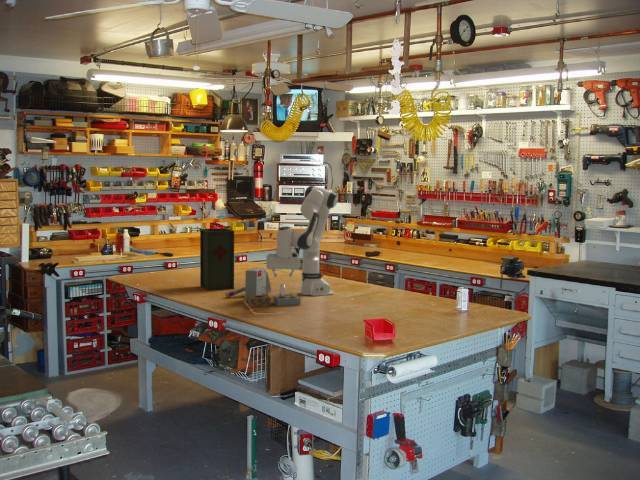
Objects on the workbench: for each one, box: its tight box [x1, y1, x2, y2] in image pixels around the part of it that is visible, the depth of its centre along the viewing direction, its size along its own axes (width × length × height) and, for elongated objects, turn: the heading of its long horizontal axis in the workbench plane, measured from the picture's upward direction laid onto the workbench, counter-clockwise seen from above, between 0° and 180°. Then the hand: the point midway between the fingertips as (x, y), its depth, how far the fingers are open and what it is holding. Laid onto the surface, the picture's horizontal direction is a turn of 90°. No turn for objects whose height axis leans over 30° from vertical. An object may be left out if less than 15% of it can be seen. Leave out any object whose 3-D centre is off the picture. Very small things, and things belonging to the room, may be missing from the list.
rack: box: [247, 294, 272, 310], centre depth 389 cm, size 12×10×6 cm
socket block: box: [273, 295, 301, 307], centre depth 394 cm, size 14×10×5 cm
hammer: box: [225, 271, 272, 299], centre depth 421 cm, size 15×8×30 cm
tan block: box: [289, 291, 298, 298], centre depth 395 cm, size 3×5×6 cm, turn 16°
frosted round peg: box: [279, 283, 286, 298], centre depth 393 cm, size 3×3×12 cm
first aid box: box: [199, 227, 235, 292], centre depth 446 cm, size 18×18×40 cm
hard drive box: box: [244, 267, 267, 303], centre depth 406 cm, size 16×8×20 cm, turn 162°
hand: (282, 276), depth 391 cm, fingers open, 8 cm apart
